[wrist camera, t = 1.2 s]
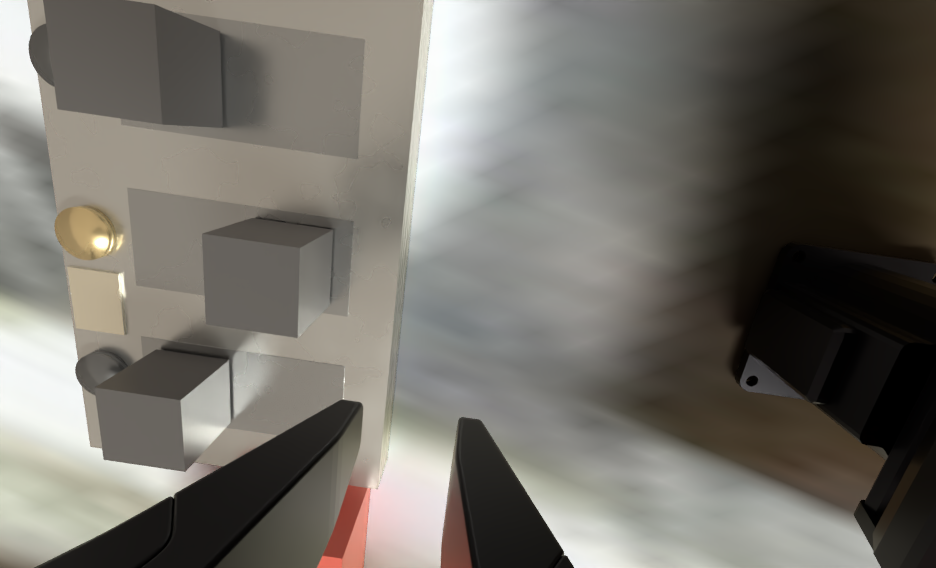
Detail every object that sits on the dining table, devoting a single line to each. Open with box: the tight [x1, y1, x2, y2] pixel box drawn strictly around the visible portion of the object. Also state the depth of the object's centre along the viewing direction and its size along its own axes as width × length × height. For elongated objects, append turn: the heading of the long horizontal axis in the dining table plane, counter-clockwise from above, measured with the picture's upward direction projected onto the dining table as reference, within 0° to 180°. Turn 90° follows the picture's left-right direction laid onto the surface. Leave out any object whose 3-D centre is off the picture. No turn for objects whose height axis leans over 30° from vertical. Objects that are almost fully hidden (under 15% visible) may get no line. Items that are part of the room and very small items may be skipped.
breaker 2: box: [94, 349, 231, 472], centre depth 17 cm, size 3×3×3 cm
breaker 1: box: [43, 0, 223, 128], centre depth 14 cm, size 3×3×3 cm
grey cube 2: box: [202, 218, 333, 338], centre depth 15 cm, size 3×3×3 cm
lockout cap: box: [317, 485, 371, 568], centre depth 21 cm, size 7×7×5 cm
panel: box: [27, 0, 434, 489], centre depth 18 cm, size 13×20×2 cm, turn 172°
